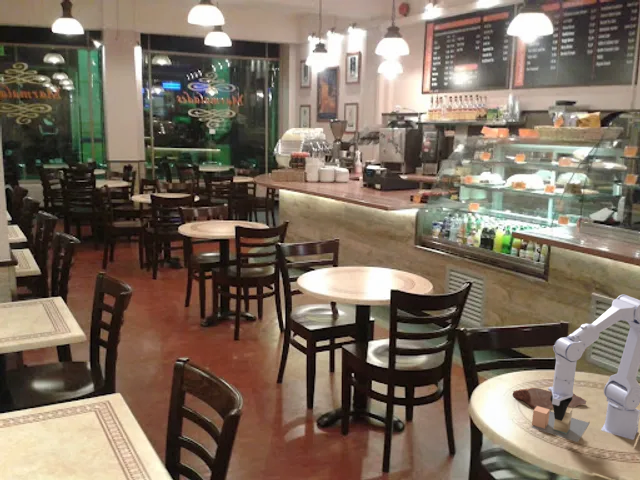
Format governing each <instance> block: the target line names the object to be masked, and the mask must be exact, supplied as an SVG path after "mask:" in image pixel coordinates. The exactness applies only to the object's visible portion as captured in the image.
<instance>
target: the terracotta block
mask: <svg viewBox="0 0 640 480" xmlns="http://www.w3.org/2000/svg"><path fill="white" fill-rule="evenodd" d="M550 411H551V409H546V408H543V407H539V406H537V407H536V408H535V409H533V411H532V412H533V413H532V419H531V420H532V421H531V425H532V426H533V425H534V426H538V427H541V428H544V429H545V427H546V426H547V425H548V420H549V412H550Z"/></svg>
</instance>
